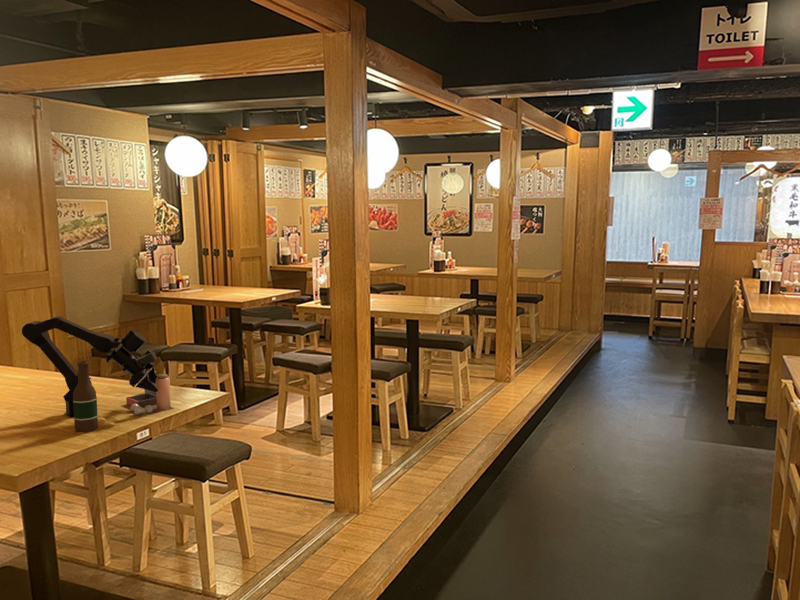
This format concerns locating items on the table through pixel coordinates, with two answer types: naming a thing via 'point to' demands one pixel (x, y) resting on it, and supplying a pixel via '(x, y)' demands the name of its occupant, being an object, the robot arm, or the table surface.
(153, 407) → the board
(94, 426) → the beer bottle
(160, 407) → the canister
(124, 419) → the table surface
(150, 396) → the lacquer box
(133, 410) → the pebble
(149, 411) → the pebble
